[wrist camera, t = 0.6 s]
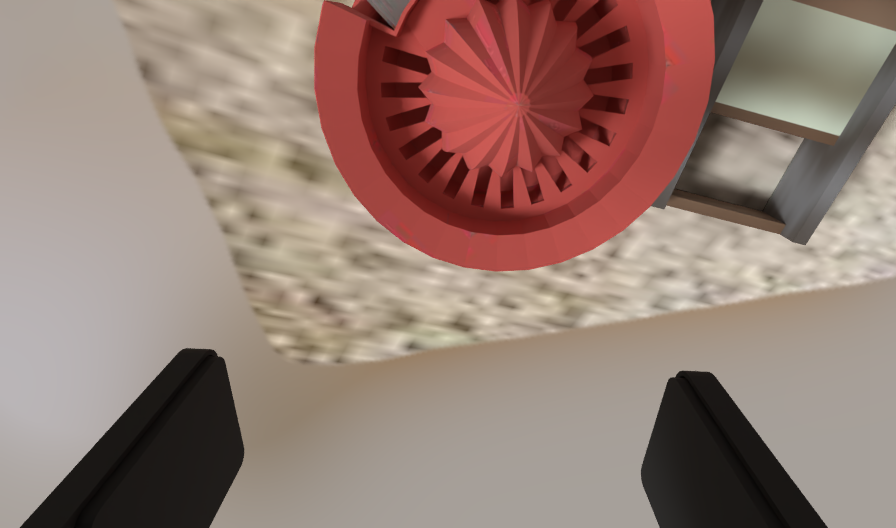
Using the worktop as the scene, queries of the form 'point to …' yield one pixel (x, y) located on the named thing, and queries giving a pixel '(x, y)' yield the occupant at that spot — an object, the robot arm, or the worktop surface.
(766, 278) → the worktop surface
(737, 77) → the box
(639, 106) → the citrus juicer
